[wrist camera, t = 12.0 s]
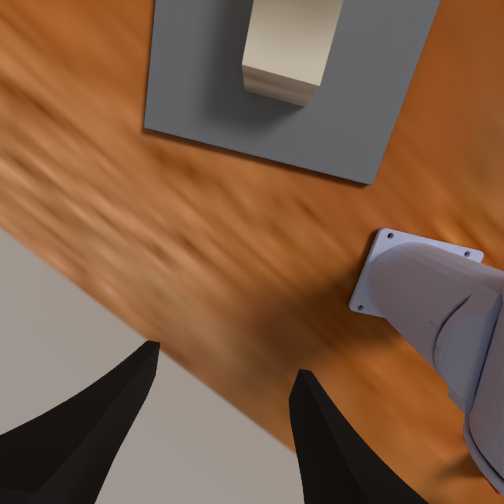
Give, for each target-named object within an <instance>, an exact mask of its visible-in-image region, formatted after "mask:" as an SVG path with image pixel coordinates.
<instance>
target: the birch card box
mask: <svg viewBox="0 0 504 504" xmlns="http://www.w3.org/2000/svg"><path fill="white" fill-rule="evenodd" d="M342 4H343V0H254V3H253V8H252V13H251V18H250V24H249V29H248V34H247V40H246V45H245V50H244V56H243V61H242V71H243V81H244V91H248V92H252V93H256V94H259V95H263V96H267V97H270V98H274V99H278V100H282V101H285V102H289V103H293V104H296V105H300V106H304V107H305V106H306V105H307V103H308V102H309V101H310V99H311V98H312V96H313V95H314V94H315V92H316V91H317V89H318V88H319V87H320V84H321V80H322V76H323V73H324V69H325V65H326V62H327V58H328V55H329V51H330V47H331V44H332V40H333V36H334V33H335V29H336V26H337V22H338V18H339V15H340V11H341V7H342Z"/></svg>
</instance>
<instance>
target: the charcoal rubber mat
mask: <svg viewBox="0 0 504 504" xmlns="http://www.w3.org/2000/svg"><path fill="white" fill-rule="evenodd" d="M253 3H254V0H156V4H155V14H154V25H153V36H152V47H151V58H150V68H149V79H148V90H147V101H146V111H145V122H144V128H146V129H149V130H153V131H157V132H161V133H165V134H169V135H173V136H177V137H181V138H185V139H189V140H193V141H197V142H201V143H205V144H209V145H213V146H217V147H221V148H225V149H229V150H233V151H236V152H240V153H244V154H248V155H252V156H256V157H260V158H264V159H268V160H272V161H276V162H280V163H284V164H288V165H292V166H296V167H300V168H304V169H308V170H312V171H316V172H320V173H324V174H328V175H332V176H336V177H340V178H343V179H347V180H351V181H355V182H359V183H363V184H367V185H373V182H374V180H375V177H376V174H377V171H378V169H379V166H380V163H381V161H382V158H383V155H384V152H385V150H386V147H387V144H388V142H389V139H390V136H391V133H392V131H393V128H394V125H395V123H396V120H397V117H398V114H399V112H400V109H401V106H402V104H403V101H404V98H405V95H406V93H407V90H408V87H409V85H410V82H411V79H412V76H413V74H414V71H415V68H416V66H417V63H418V60H419V57H420V55H421V52H422V49H423V47H424V44H425V41H426V38H427V36H428V33H429V30H430V28H431V25H432V22H433V19H434V17H435V14H436V11H437V9H438V6H439V3H440V0H343V4H342V7H341V11H340V15H339V18H338V22H337V26H336V29H335V33H334V36H333V40H332V44H331V47H330V51H329V55H328V58H327V62H326V65H325V69H324V73H323V76H322V80H321V84H320V87H319V88H318V89H317V91H316V92H315V94H314V95H313V96H312V98H311V99H310V101H309V102H308V103H307V105H306V106H305V107H304V106H300V105H296V104H293V103H289V102H285V101H282V100H278V99H274V98H270V97H267V96H263V95H259V94H256V93H252V92H248V91H244V81H243V71H242V61H243V56H244V50H245V45H246V40H247V34H248V29H249V24H250V18H251V13H252V8H253Z"/></svg>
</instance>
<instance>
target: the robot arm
mask: <svg viewBox="0 0 504 504" xmlns="http://www.w3.org/2000/svg"><path fill="white" fill-rule="evenodd" d="M389 233H391V236H390V237H389V238H388V237H387V236H388V234H389ZM465 252H466V254H465V255H464V253H465ZM483 256H484V255H483V252H481V251H478V250H474V249H470V248H466V247H462V246H458V245H454V244H450V243H445V242H441V241H437V240H433V239H429V238H425V237H421V236H416V235H412V234H408V233H404V232H400V231H396V230H392V229H388V228H381V229H379V230H378V232H377V234H376V237H375V239H374V242H373V244H372V247H371V249H370V252H369V255H368V257H367V260H366V262H365V265H364V267H363V270H362V272H361V275H360V277H359V280H358V282H357V285H356V287H355V290H354V292H353V295H352V297H351V300H350V302H349V308H350V309H351V310H352V311H354V312H359V313H364V314H368V315H373V316H377V317H382V318H385V319H386V320H387V321H388V322H389V323H390V324H391V325H392V326H393V327H394V328H395V329H396V330H397V331H398V332H399V333H400V334H401V335H402V337H403V338H404V339H405V340H406V341H407V342H408V343H409V344H410V345H411V346H412V347H413V348H414V349H415V350H416V351H417V352H418V353H419V354H420V355H421V356H422V358H423V359H424V360H425V361H426V362H427V363H428V364H429V365H430V366H431V367H432V368H433V369H434V370H435V371H436V372H437V373H438V374H439V375H440V376H441V377H442V378H443V380H444V381H445V382H446V383H447V385H448V389H449V393H448V396H449V397H450V399H451V400H452V401H453V402H454V403H455V404H456V405H457V406H458V407H459V409H460V410H461V411H462V412H463V413H464V414H465V415H466V416H465V419H464V423H463V436H464V440H465V443H466V446H467V449H468V451H469V453H470V455H471V457H472V458H473V460H474V461H475V463H476V464H477V466H478V467H479V469H480V470H481V472H482V473H483V474H484V475H485V477H486V478H487V479H488V480H489V482H490V483H491V484H492V485H493V486H494V487H495V488H496V489H497V490H498V491H499V492H500V493H501V494H502V495H503V497H504V272H503V271H501V270H498V269H495V268H493V267H490V266H487V265H484V264H482V263H480V262H481V260H482V259H483ZM360 305H362V307H361V308H358V307H359V306H360ZM159 349H160V343H159V342H154V341H149V340H148V341H146V342H145V343H144V344H143V345H142V346H140V347H139V348H138V349H137V350H136V351H135V352H133V353H132V354H131V355H130V356H129V357H127V358H126V359H125V360H124V361H122V362H121V363H120V364H119V365H117V366H116V367H115V368H114V369H113V370H111V371H110V372H108V373H107V374H106V375H104V376H103V377H101V378H100V379H99V380H97V381H96V382H95V383H93V384H92V385H90V386H89V387H87V388H86V389H84V390H83V391H81V392H80V393H78V394H77V395H75V396H73V397H72V398H70V399H68V400H67V401H65V402H63V403H61V404H60V405H58V406H56V407H54V408H53V409H51V410H49V411H47V412H46V413H44V414H42V415H40V416H38V417H36V418H34V419H32V420H30V421H28V422H26V423H24V424H22V425H20V426H18V427H16V428H14V429H13V430H10V431H8V432H6V433H4V434H2V435H0V504H95V502H96V499H97V497H98V495H99V492H100V490H101V487H102V485H103V483H104V481H105V478H106V476H107V474H108V471H109V469H110V467H111V465H112V462H113V460H114V458H115V456H116V454H117V452H118V450H119V448H120V446H121V444H122V442H123V441H124V439H125V437H126V435H127V433H128V431H129V429H130V427H131V426H132V424H133V422H134V420H135V418H136V416H137V414H138V412H139V410H140V409H141V407H142V405H143V403H144V401H145V399H146V397H147V395H148V393H149V390H150V388H151V385H152V383H153V380H154V378H155V376H156V369H157V362H158V355H159ZM289 410H290V421H291V427H292V432H293V437H294V443H295V448H296V453H297V458H298V463H299V468H300V474H301V480H302V486H303V494H304V503H305V504H429V503H428V502H427V501H425V500H424V499H423V498H422V497H421V496H420V495H419V494H417V493H416V492H415V491H414V490H413V489H412V488H411V487H409V486H408V485H407V484H406V483H405V482H404V481H403V480H402V479H401V478H400V477H399V476H398V475H397V474H395V473H394V472H393V471H392V470H391V469H390V468H389V467H388V466H387V465H386V464H385V463H384V462H383V461H382V460H381V459H380V458H379V457H378V456H377V455H376V453H375V452H374V451H373V450H372V449H371V448H370V447H369V446H368V445H367V444H366V443H365V441H364V440H363V439H362V438H361V437H360V436H359V435H358V433H357V432H356V431H355V430H354V429H353V427H352V426H351V425H350V424H349V422H348V421H347V420H346V419H345V418H344V416H343V415H342V414H341V412H340V411H339V410H338V408H337V407H336V406H335V404H334V403H333V402H332V400H331V399H330V397H329V396H328V395H327V393H326V392H325V390H324V389H323V387H322V386H321V385H320V383H319V382H318V380H317V379H316V377H315V376H314V374H313V373H312V372H311V371H309V370H304V369H299V372H298V374H297V377H296V380H295V383H294V386H293V388H292V391H291V394H290V397H289Z"/></svg>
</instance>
